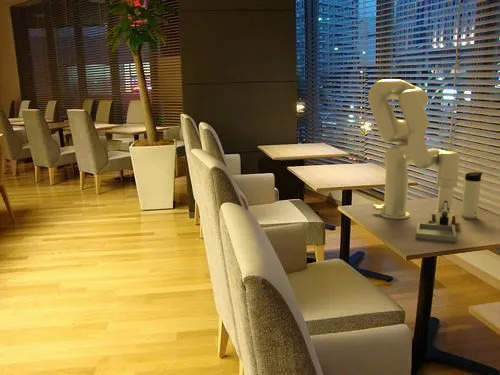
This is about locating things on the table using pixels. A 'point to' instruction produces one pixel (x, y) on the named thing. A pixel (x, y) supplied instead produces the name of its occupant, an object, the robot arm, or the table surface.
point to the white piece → (438, 215)
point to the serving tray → (436, 232)
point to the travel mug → (471, 195)
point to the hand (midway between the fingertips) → (443, 224)
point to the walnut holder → (454, 220)
